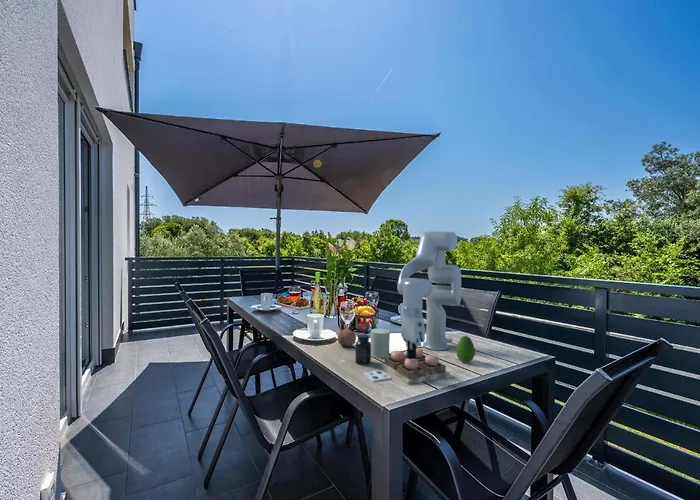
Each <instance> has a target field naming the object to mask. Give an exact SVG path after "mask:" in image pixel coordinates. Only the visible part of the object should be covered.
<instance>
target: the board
mask: <svg viewBox="0 0 700 500" xmlns="http://www.w3.org/2000/svg"><path fill="white" fill-rule="evenodd" d="M425 356H426V355H425V354H423V357H422V358H415V359H417V360H418V368H417V369H407V368H405V359H407V353H405V354H404V360H402V361H394V360H392V359H391V356H389V357H386V358H384V362H381V363H380V367H381V368H382V369H384V370H385V371H386V372H388V373H390V374H392V375H393V376H394V377H396V378H398V379H399V380H400V381H401V382H403V383H405V384H407V385H411V384H419V383H422V382H427V381H432V380H433V381H434V380H437V379H444V378H448V376H449V377H450V372H449V371H447V370H446V369H447V365H445V364H443V363H441V362H439V361H438V365H437V366H430V365H427V364H425Z"/></svg>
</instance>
